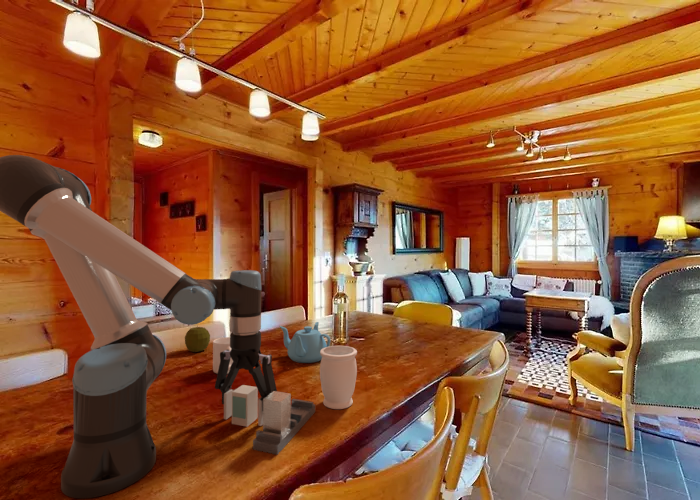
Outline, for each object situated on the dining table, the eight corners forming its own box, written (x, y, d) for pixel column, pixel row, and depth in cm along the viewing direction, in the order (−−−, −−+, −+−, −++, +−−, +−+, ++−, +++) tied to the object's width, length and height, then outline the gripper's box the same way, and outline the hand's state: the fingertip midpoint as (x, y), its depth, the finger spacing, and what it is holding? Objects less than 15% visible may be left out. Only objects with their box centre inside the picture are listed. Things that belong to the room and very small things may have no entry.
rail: (277, 454, 73) (277, 407, 73) (253, 449, 75) (253, 403, 75) (315, 411, 92) (315, 374, 92) (294, 408, 94) (295, 372, 94)
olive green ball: (201, 355, 138) (201, 328, 138) (179, 353, 140) (179, 327, 140) (214, 348, 148) (214, 322, 148) (194, 346, 150) (194, 321, 150)
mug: (218, 380, 113) (218, 347, 113) (210, 369, 123) (210, 339, 123) (244, 374, 118) (244, 343, 118) (234, 364, 128) (235, 336, 128)
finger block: (246, 427, 84) (246, 394, 84) (230, 424, 85) (231, 392, 85) (257, 418, 88) (257, 387, 88) (242, 415, 90) (242, 384, 90)
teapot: (277, 355, 139) (277, 325, 139) (317, 348, 150) (317, 320, 150) (295, 368, 125) (295, 334, 125) (338, 359, 135) (338, 328, 135)
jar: (336, 392, 105) (337, 343, 105) (363, 402, 98) (364, 349, 98) (311, 404, 96) (312, 350, 96) (339, 415, 90) (340, 358, 90)
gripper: (291, 331, 87) (291, 419, 87) (219, 325, 94) (218, 406, 94) (276, 339, 80) (276, 435, 80) (199, 331, 86) (199, 419, 87)
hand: (245, 419), depth 87 cm, fingers open, 9 cm apart
